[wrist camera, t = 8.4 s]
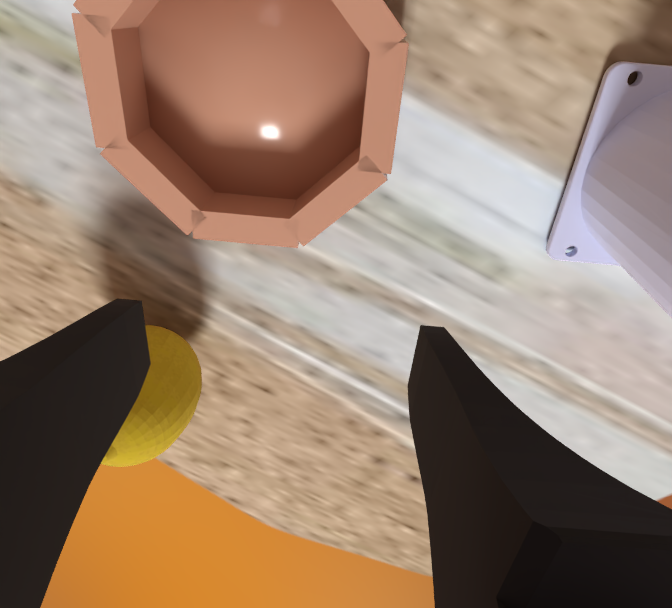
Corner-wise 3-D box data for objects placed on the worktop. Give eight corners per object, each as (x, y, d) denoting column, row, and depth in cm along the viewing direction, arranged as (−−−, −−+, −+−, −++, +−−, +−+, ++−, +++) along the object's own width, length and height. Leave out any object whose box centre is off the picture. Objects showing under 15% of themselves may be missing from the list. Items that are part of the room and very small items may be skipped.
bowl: (420, -78, 16) (430, -93, 14) (380, 228, 22) (381, 257, 19) (93, -107, 16) (42, -128, 14) (139, 206, 22) (109, 232, 19)
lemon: (94, 325, 26) (-4, 440, 19) (170, 278, 24) (93, 386, 17) (165, 393, 28) (101, 517, 21) (240, 355, 26) (196, 477, 19)
